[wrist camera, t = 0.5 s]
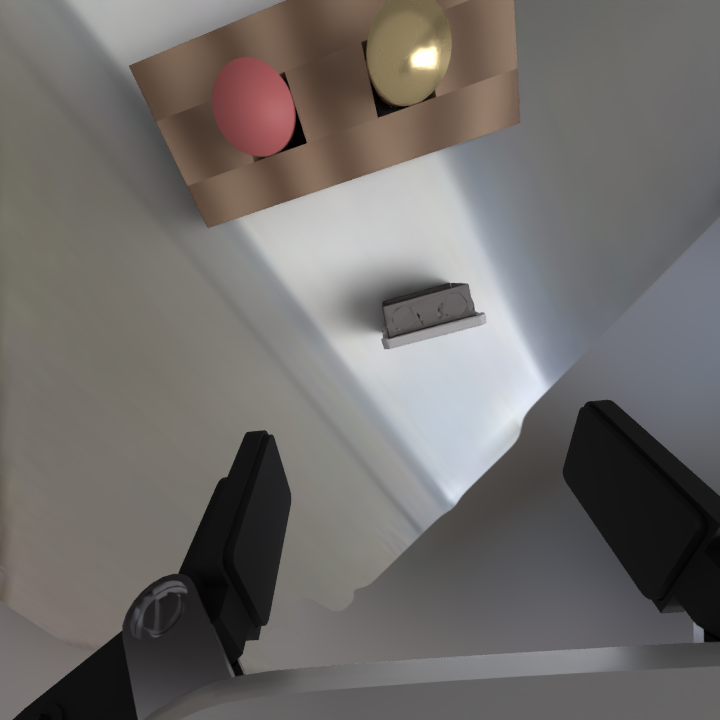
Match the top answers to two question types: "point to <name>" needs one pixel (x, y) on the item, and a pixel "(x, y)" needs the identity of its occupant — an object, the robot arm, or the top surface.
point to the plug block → (326, 99)
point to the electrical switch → (429, 315)
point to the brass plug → (408, 50)
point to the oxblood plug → (254, 107)
